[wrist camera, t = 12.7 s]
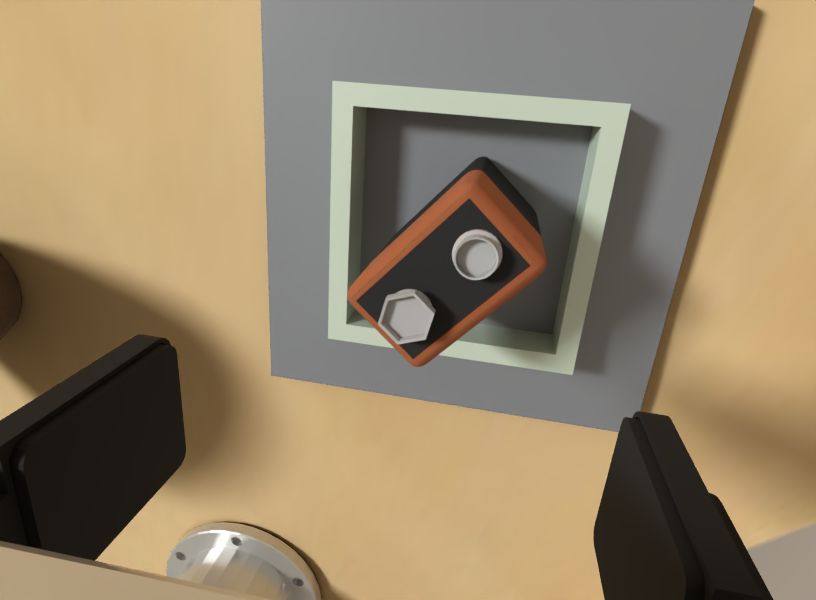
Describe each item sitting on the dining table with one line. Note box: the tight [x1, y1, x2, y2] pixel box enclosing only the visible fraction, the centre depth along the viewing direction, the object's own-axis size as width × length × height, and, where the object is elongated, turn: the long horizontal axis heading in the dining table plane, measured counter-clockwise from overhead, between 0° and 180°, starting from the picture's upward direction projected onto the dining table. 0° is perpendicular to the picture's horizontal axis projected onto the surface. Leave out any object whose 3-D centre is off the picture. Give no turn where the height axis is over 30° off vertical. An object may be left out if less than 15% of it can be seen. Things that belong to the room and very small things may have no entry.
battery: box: [347, 156, 546, 367], centre depth 23 cm, size 4×7×10 cm, turn 134°
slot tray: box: [261, 0, 755, 432], centre depth 27 cm, size 22×22×4 cm
